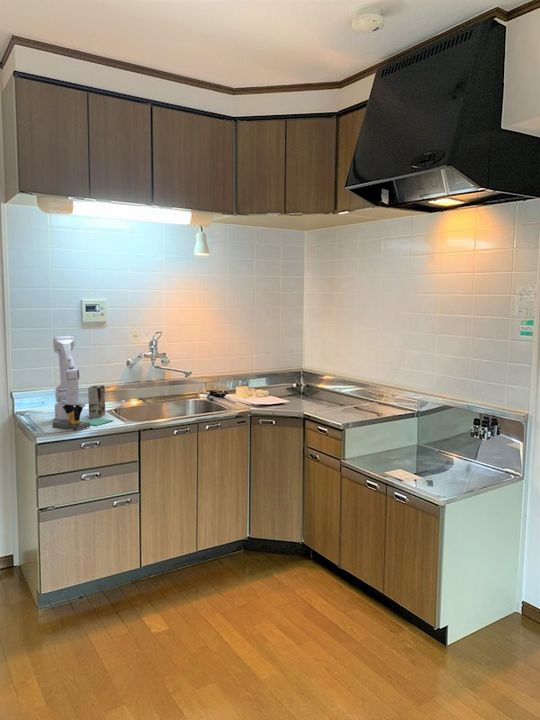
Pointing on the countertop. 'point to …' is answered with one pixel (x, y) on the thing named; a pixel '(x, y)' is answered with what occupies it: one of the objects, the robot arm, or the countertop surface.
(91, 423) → the mat
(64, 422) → the rail plate
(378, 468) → the countertop surface
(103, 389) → the coffee box
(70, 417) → the peg
